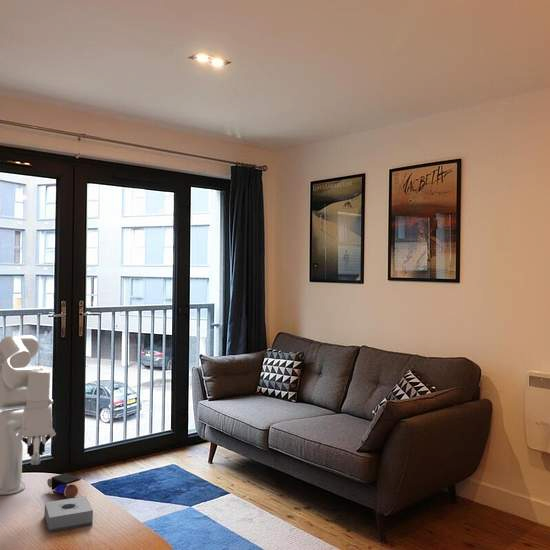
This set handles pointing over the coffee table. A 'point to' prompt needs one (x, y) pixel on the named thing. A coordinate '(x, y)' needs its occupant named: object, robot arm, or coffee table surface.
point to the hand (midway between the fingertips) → (35, 454)
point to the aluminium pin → (36, 450)
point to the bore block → (68, 514)
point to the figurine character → (64, 484)
